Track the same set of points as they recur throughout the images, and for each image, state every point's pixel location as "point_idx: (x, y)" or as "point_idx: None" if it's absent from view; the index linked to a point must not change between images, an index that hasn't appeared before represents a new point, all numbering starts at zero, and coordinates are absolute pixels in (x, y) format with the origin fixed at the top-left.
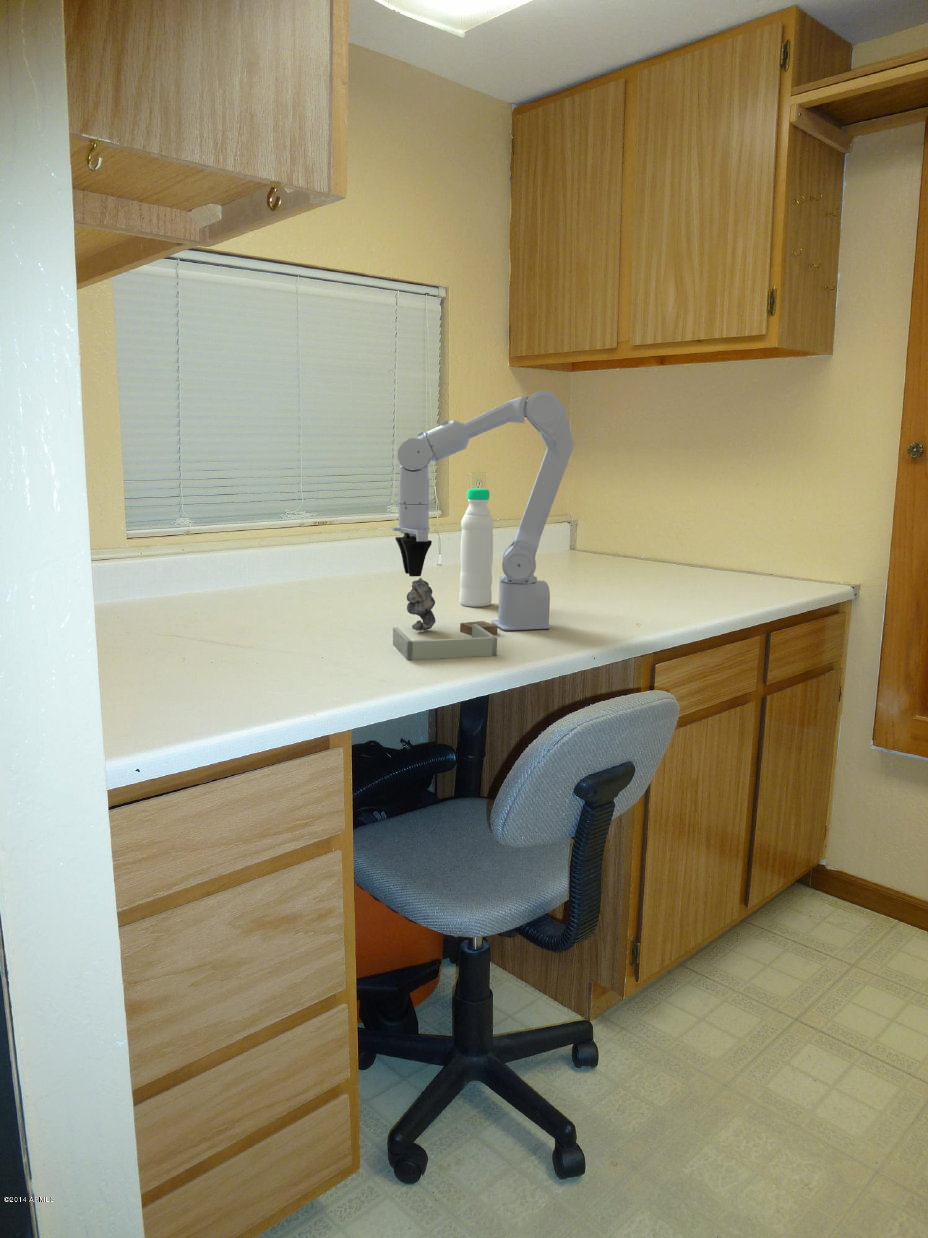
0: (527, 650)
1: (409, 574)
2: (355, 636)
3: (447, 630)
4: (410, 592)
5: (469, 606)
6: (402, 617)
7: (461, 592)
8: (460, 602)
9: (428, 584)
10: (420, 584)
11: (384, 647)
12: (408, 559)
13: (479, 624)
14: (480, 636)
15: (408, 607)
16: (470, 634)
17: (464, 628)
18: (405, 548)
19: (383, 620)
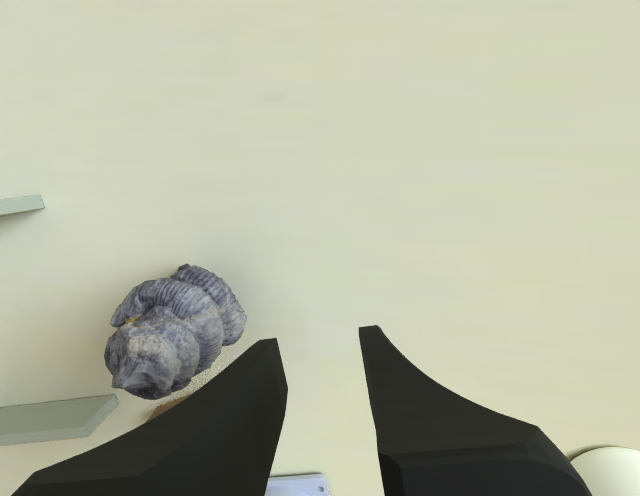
0: None
1: (260, 341)
2: (124, 79)
3: (229, 355)
4: (131, 302)
5: (570, 462)
6: (419, 246)
7: (630, 483)
8: (608, 449)
9: (141, 396)
10: (107, 363)
11: (2, 169)
12: (194, 394)
13: None
14: (32, 420)
15: (179, 273)
16: (172, 402)
17: None
18: (117, 444)
19: (373, 179)
